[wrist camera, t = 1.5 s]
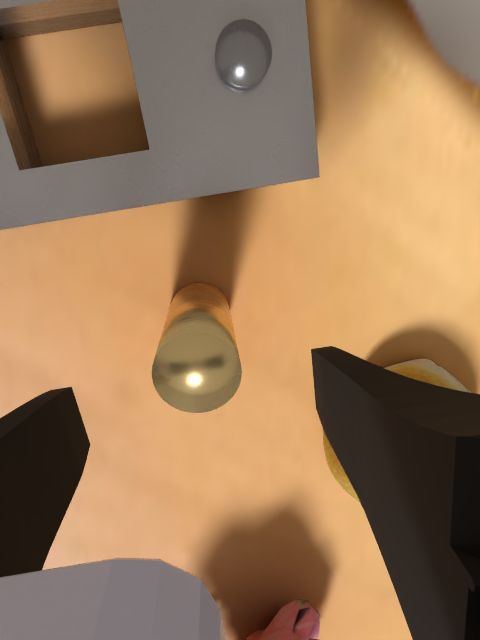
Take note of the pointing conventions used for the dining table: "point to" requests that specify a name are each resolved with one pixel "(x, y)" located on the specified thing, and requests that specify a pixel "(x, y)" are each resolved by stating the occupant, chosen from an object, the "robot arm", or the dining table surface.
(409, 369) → the bread roll
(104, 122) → the dining table surface
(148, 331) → the dining table surface
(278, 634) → the flower
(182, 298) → the brass pin
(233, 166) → the grey plate with knobs
